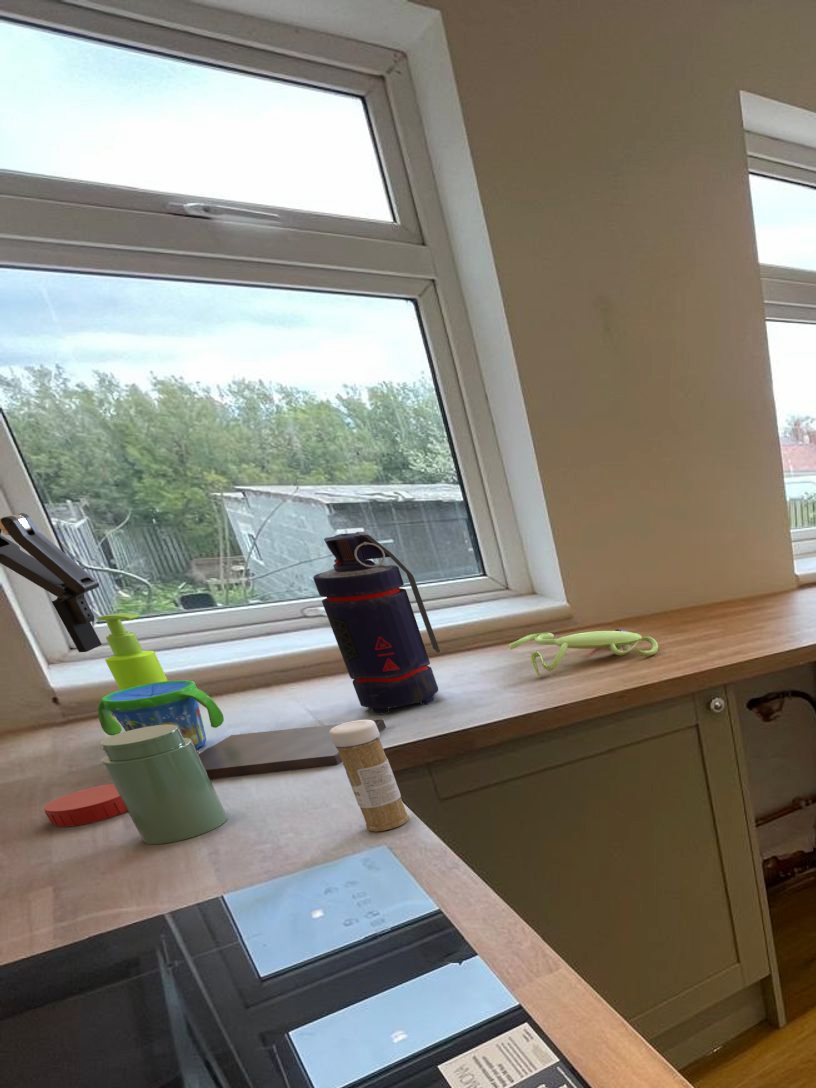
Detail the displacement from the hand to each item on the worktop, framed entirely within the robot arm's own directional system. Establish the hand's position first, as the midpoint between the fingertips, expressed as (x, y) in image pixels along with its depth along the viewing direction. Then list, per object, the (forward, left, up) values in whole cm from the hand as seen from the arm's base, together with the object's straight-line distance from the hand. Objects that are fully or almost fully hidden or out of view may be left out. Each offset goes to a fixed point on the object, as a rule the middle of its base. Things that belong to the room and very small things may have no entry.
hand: (24, 652), depth 100 cm
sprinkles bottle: (+40, -16, -22) cm, 49 cm away
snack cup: (-7, +25, -22) cm, 34 cm away
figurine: (+47, +58, -23) cm, 78 cm away
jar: (+14, -9, -22) cm, 28 cm away
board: (+12, +17, -22) cm, 30 cm away
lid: (-2, +1, -20) cm, 20 cm away
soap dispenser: (-16, +38, -22) cm, 47 cm away
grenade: (+21, +39, -22) cm, 50 cm away
